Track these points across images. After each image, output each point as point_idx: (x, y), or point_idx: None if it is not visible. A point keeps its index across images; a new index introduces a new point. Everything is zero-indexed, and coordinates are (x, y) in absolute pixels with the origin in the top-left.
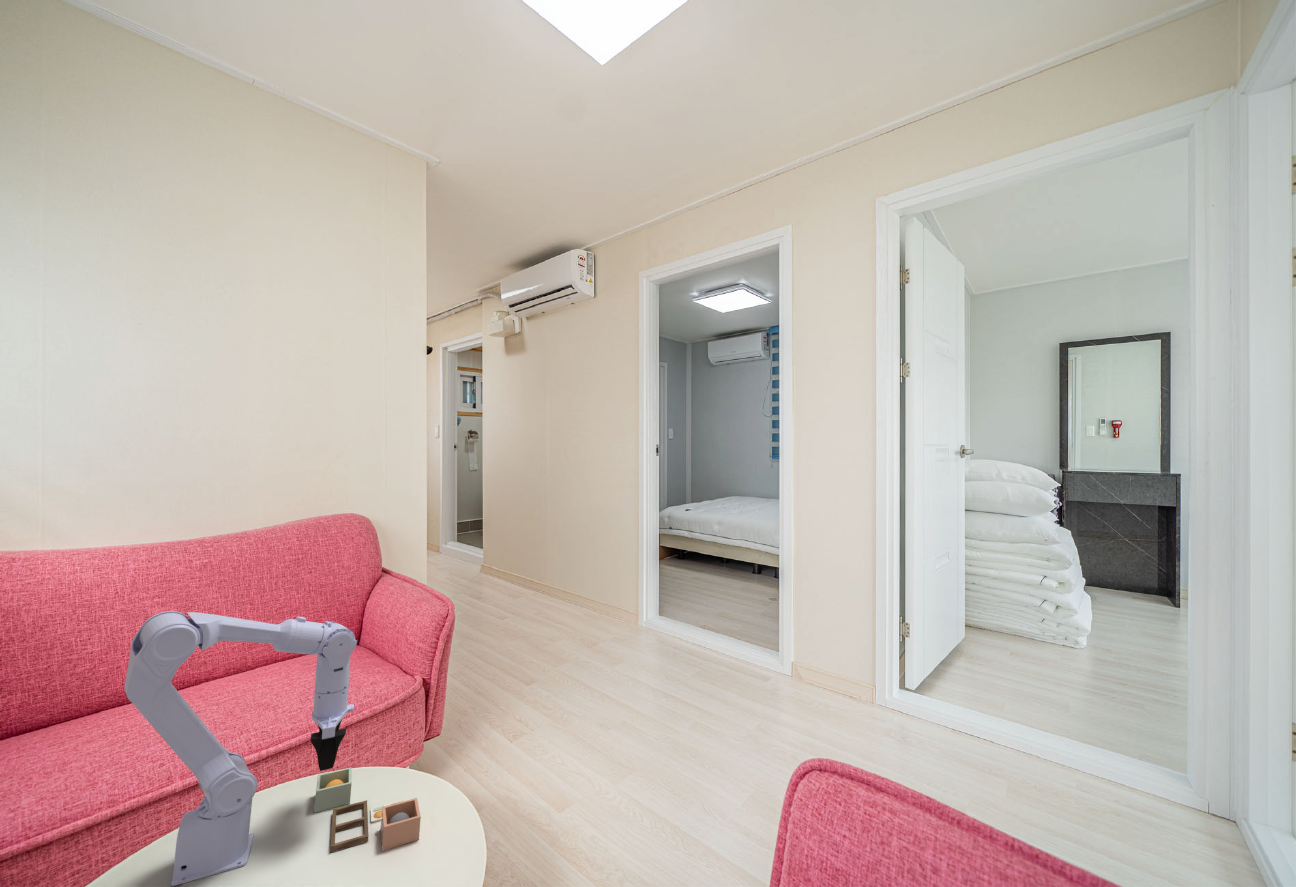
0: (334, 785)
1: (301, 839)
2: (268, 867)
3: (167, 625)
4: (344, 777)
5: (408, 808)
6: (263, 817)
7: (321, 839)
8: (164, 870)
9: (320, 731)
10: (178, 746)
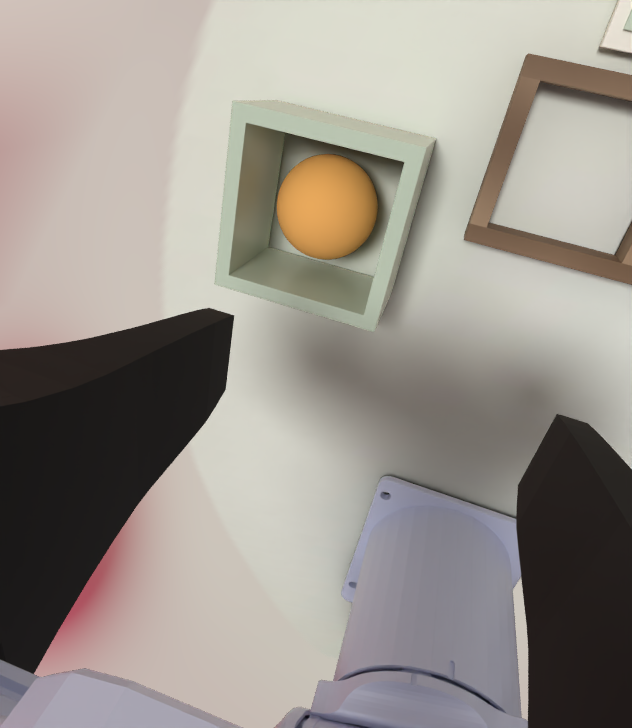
0: (345, 225)
1: (539, 371)
2: None
3: None
4: (260, 142)
5: None
6: (288, 425)
7: (616, 314)
8: None
9: (128, 511)
10: None
